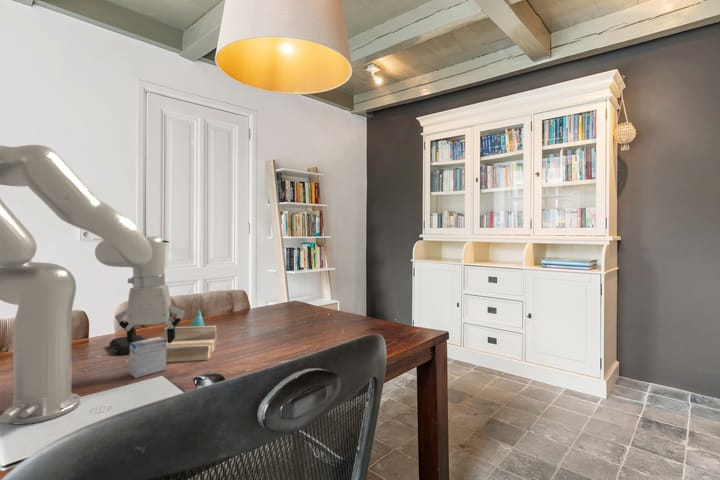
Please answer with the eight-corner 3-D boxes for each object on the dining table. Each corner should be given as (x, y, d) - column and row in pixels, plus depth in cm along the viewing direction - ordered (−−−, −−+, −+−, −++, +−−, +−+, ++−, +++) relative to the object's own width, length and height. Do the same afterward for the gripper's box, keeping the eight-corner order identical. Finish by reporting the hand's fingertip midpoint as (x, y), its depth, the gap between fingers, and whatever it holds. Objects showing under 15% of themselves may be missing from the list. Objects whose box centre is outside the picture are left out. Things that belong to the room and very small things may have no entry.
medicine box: (159, 366, 107) (159, 336, 107) (166, 370, 104) (166, 339, 104) (129, 374, 101) (129, 342, 101) (135, 378, 98) (135, 346, 98)
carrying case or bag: (104, 347, 125) (115, 358, 115) (104, 338, 125) (115, 348, 115) (140, 341, 133) (153, 351, 122) (140, 333, 133) (153, 341, 122)
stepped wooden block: (207, 359, 113) (208, 336, 113) (150, 362, 110) (150, 339, 110) (216, 346, 127) (216, 325, 127) (165, 348, 124) (165, 327, 124)
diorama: (152, 337, 139) (152, 314, 138) (204, 327, 154) (204, 306, 154) (166, 343, 131) (166, 319, 131) (219, 332, 146) (219, 310, 146)
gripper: (108, 285, 97) (111, 350, 98) (179, 282, 101) (181, 345, 102) (120, 280, 105) (123, 341, 106) (186, 278, 108) (188, 336, 109)
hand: (151, 343), depth 104 cm, fingers open, 9 cm apart
